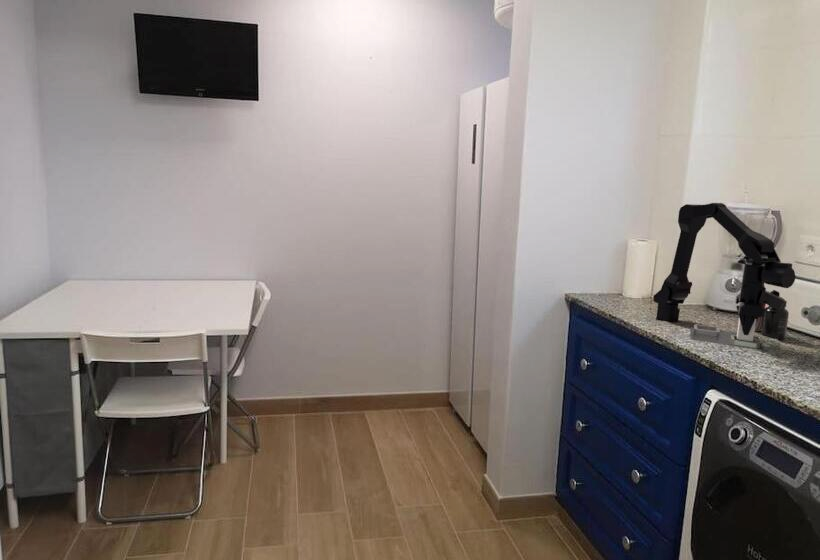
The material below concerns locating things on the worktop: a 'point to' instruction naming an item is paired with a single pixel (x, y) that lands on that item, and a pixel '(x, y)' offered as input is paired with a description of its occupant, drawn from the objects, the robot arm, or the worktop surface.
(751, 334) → the plug
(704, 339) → the panel
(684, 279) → the robot arm
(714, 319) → the worktop surface
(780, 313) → the supplement bottle
